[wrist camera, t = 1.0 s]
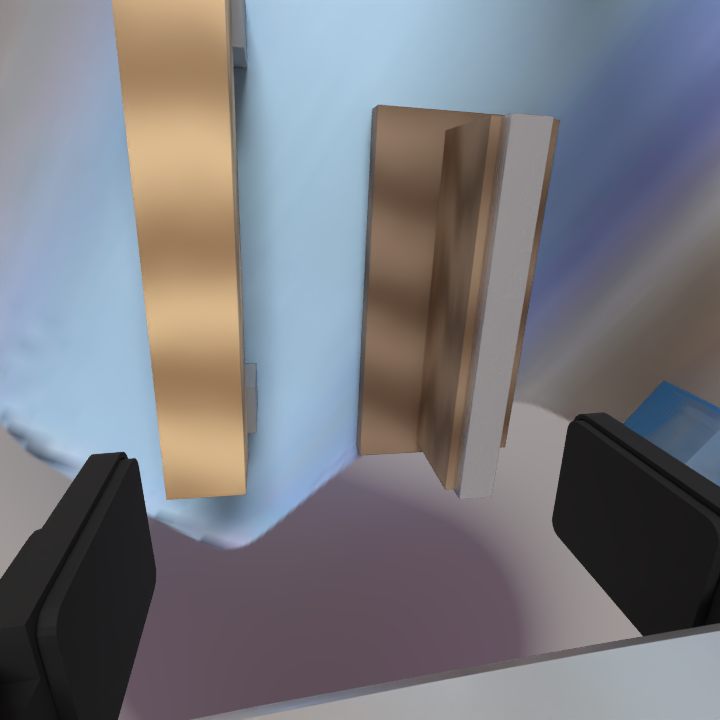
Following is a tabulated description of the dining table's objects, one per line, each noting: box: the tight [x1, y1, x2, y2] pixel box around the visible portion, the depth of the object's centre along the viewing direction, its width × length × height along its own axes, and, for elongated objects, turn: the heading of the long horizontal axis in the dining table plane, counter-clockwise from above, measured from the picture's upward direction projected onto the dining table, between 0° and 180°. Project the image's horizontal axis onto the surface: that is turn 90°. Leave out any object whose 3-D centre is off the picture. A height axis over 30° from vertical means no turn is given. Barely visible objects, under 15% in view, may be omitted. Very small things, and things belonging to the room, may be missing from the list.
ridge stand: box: [357, 105, 560, 499], centre depth 28 cm, size 22×11×8 cm, turn 178°
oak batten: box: [112, 0, 249, 500], centre depth 22 cm, size 26×4×4 cm, turn 178°
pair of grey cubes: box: [231, 0, 258, 433], centre depth 26 cm, size 23×5×4 cm, turn 178°
